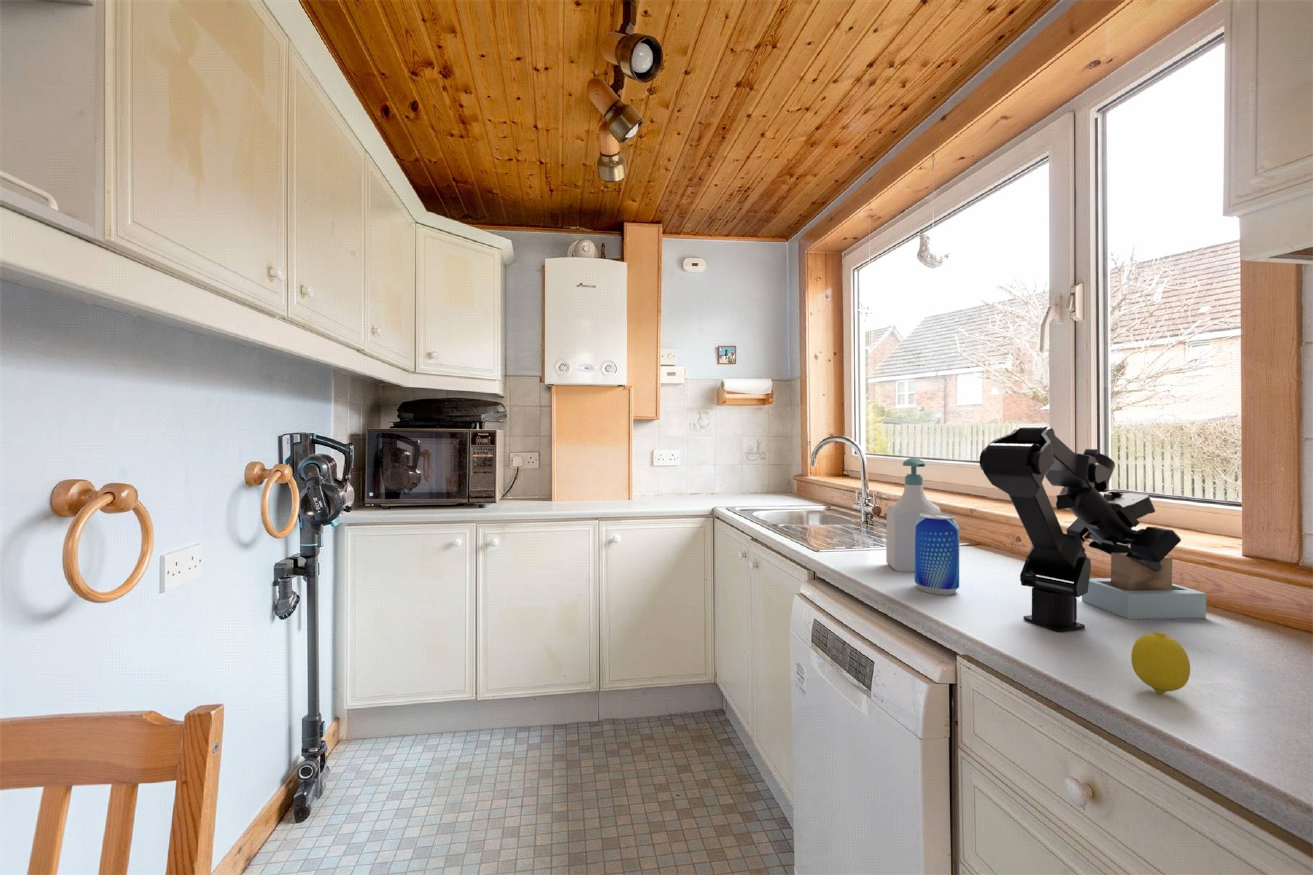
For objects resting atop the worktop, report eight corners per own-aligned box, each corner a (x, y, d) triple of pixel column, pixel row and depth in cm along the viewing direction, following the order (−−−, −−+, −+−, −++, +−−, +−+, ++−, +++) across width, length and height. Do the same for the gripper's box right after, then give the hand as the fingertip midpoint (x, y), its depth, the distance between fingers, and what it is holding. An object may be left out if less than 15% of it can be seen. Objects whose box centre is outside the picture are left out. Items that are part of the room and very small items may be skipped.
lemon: (1119, 683, 71) (1120, 625, 71) (1157, 682, 71) (1157, 623, 71) (1162, 705, 65) (1163, 641, 65) (1202, 703, 66) (1203, 639, 66)
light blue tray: (1127, 618, 95) (1128, 594, 95) (1081, 600, 105) (1082, 578, 105) (1205, 618, 95) (1206, 593, 95) (1152, 600, 105) (1152, 577, 105)
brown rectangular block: (1129, 605, 98) (1130, 557, 98) (1110, 598, 102) (1111, 552, 102) (1171, 605, 98) (1172, 557, 98) (1150, 598, 102) (1151, 552, 102)
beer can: (960, 587, 114) (960, 514, 114) (958, 598, 107) (958, 520, 106) (917, 581, 118) (917, 511, 118) (912, 591, 111) (912, 516, 111)
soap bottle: (897, 573, 126) (897, 458, 125) (886, 564, 134) (886, 456, 133) (945, 574, 124) (946, 458, 124) (931, 565, 133) (931, 456, 132)
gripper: (1170, 484, 90) (1232, 547, 90) (1080, 475, 109) (1132, 527, 109) (1125, 529, 90) (1187, 593, 90) (1043, 512, 109) (1094, 565, 109)
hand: (1148, 566), depth 100 cm, fingers closed on brown rectangular block, 4 cm apart
